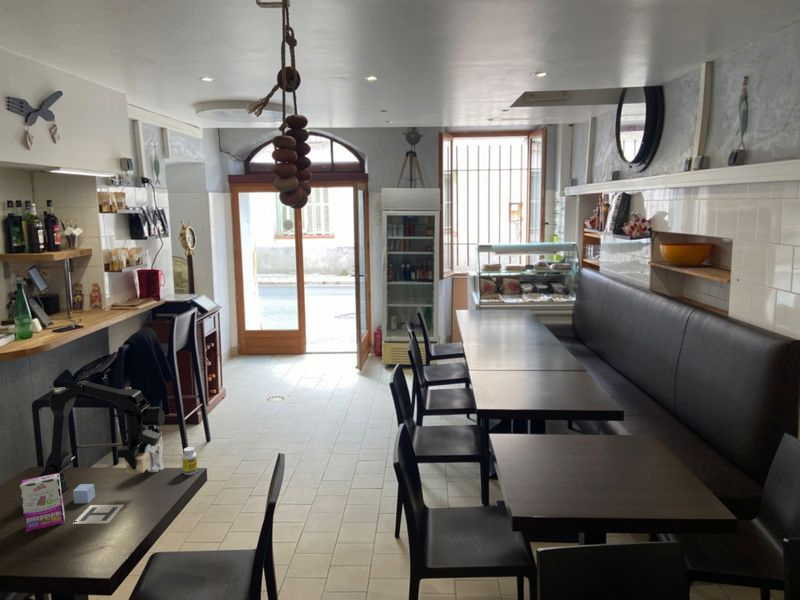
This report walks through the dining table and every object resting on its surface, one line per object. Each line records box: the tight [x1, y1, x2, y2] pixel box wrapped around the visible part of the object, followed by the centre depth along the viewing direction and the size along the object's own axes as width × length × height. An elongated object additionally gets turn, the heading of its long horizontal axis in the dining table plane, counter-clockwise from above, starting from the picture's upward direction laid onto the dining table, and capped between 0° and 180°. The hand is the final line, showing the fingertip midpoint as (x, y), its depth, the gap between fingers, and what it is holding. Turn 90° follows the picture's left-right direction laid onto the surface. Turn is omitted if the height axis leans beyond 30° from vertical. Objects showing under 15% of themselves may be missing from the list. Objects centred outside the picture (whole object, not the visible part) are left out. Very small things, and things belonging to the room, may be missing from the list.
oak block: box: [125, 453, 150, 474], centre depth 214 cm, size 6×6×5 cm
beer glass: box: [145, 430, 164, 473], centre depth 234 cm, size 7×7×15 cm
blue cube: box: [72, 483, 96, 504], centre depth 211 cm, size 5×5×5 cm
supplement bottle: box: [182, 446, 198, 476], centre depth 232 cm, size 5×5×10 cm
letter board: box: [72, 504, 125, 525], centre depth 202 cm, size 12×12×1 cm
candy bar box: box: [19, 473, 66, 533], centre depth 194 cm, size 11×5×16 cm, turn 117°
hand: (138, 465), depth 215 cm, fingers closed on oak block, 6 cm apart
